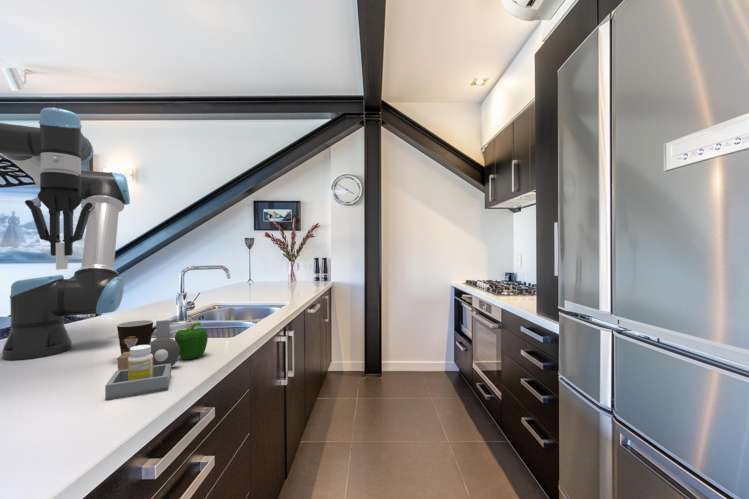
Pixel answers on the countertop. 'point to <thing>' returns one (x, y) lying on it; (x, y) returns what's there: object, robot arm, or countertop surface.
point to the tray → (138, 383)
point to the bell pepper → (192, 341)
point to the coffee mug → (134, 334)
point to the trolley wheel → (164, 345)
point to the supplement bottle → (140, 362)
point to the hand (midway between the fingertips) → (61, 269)
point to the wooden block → (123, 361)
